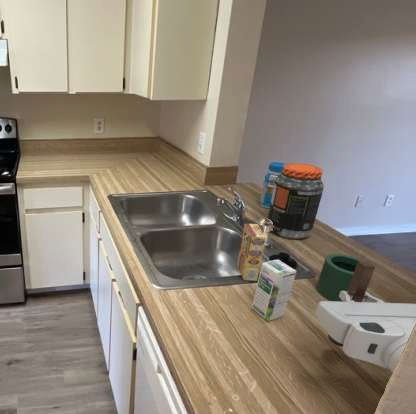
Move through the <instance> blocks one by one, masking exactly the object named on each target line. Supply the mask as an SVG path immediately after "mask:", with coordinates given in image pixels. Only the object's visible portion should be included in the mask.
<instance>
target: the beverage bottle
mask: <svg viewBox="0 0 416 414" xmlns="http://www.w3.org/2000/svg"><path fill="white" fill-rule="evenodd" d="M285 164H286V163H283V162H278V161H272V162H269V164H268V172H267V173H266V174H265V175H264V180H263V183H262V185H263V186H262V190H261V194H260V195H261V196H260V199H259V205H260V206H261V207H263V208H264V209H265V208H266V209H268V210H269V209H270V204H271V199H272V194H273V189H274V184H275V180H276V178H277V177H278V176H279V175H280V174H281V173H282V169H283V166H284V165H285Z"/></svg>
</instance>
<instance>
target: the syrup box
mask: <svg viewBox="0 0 416 414" xmlns="http://www.w3.org/2000/svg"><path fill="white" fill-rule="evenodd" d="M296 275H297V270H296V269H295V268H293V267H291V266H289V265H288V264H286V263H285V262H282V261H281V260H280V259H273V260H268V261H265V262H263V263H261V266H260V270H259V274H258V279H257V284H256V288H255V293H254V297H253V301H252V305H251V309H252V310H253V311H255V312H256V313H257V314H258V315H259V316H260V317H262V318H263V319H264V320H265V321H266V322H270V321H273V320H277V319H280V318H282V317H284V316H285V313H286V310H287V305H288V302H289V299H290V295H291V292H292V288H293V285H294V282H295V278H296Z"/></svg>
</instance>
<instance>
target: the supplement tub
mask: <svg viewBox="0 0 416 414" xmlns="http://www.w3.org/2000/svg"><path fill="white" fill-rule="evenodd" d="M284 164H285V165H284V166H283V169H282V173H281V174H280V175H279V176H278V177H277V178H276V180H275V184H274V189H273V194H272V199H271V204H270V209H269V208H268V214H267V218H268V219H270V220H271V221H272V222H273V226H274V227H273V231H272V232H271V233H273V234H274V235H276V236H279V237H282V238H286V239H299V240H300V239H305V238H308V237H310V236H311V235H312V232H313V229H314V227H315V226H314V225H315V221H316V218H317V215H318V212H319V208H320V203H321V201H322V197H323V192H324V188H325V183H324V181H323V179H322V176H323V169H322V168H321V167H319V166H316V165H313V164H308V163H307V164H306V163H298V162H297V163H294V162H293V163H292V162H291V163H284Z"/></svg>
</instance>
